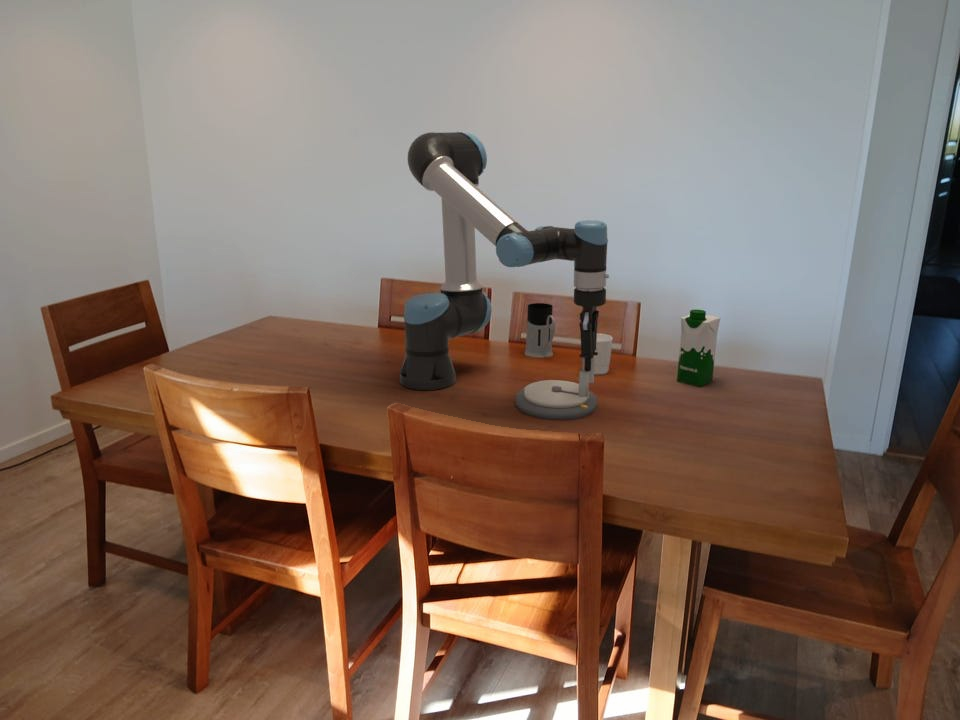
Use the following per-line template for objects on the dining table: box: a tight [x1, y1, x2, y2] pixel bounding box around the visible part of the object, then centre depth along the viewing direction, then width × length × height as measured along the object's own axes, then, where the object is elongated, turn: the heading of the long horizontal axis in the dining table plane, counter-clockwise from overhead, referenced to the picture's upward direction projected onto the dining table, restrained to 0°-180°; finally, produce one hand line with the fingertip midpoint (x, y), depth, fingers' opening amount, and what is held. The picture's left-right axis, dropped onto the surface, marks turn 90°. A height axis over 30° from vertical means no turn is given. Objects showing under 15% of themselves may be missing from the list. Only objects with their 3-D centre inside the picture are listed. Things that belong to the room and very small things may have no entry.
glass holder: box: [524, 302, 556, 359], centre depth 218 cm, size 9×14×15 cm, turn 21°
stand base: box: [515, 387, 598, 421], centre depth 181 cm, size 20×20×2 cm
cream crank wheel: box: [523, 369, 590, 408], centre depth 179 cm, size 16×16×8 cm
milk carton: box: [676, 309, 721, 388], centre depth 196 cm, size 9×9×20 cm
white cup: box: [594, 333, 613, 375], centre depth 205 cm, size 8×8×10 cm
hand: (588, 381), depth 179 cm, fingers closed
